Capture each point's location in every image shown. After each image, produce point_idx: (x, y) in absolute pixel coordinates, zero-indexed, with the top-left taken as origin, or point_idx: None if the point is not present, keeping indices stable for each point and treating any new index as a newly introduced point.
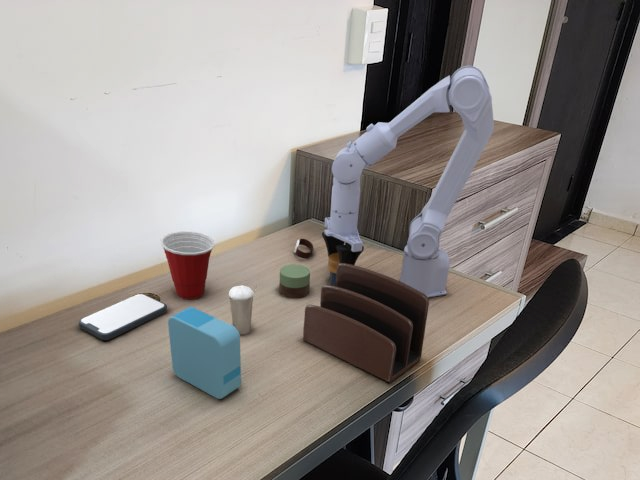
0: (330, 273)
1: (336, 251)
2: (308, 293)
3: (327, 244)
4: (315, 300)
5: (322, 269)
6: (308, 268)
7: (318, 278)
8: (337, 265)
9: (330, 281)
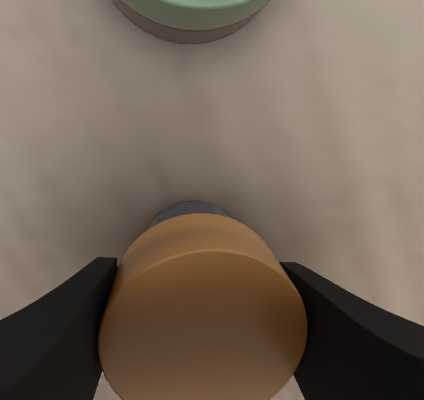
0: None
1: (313, 355)
2: (122, 12)
3: (383, 333)
4: (22, 9)
5: (349, 231)
6: (195, 5)
7: (273, 166)
8: (126, 270)
9: (199, 203)
